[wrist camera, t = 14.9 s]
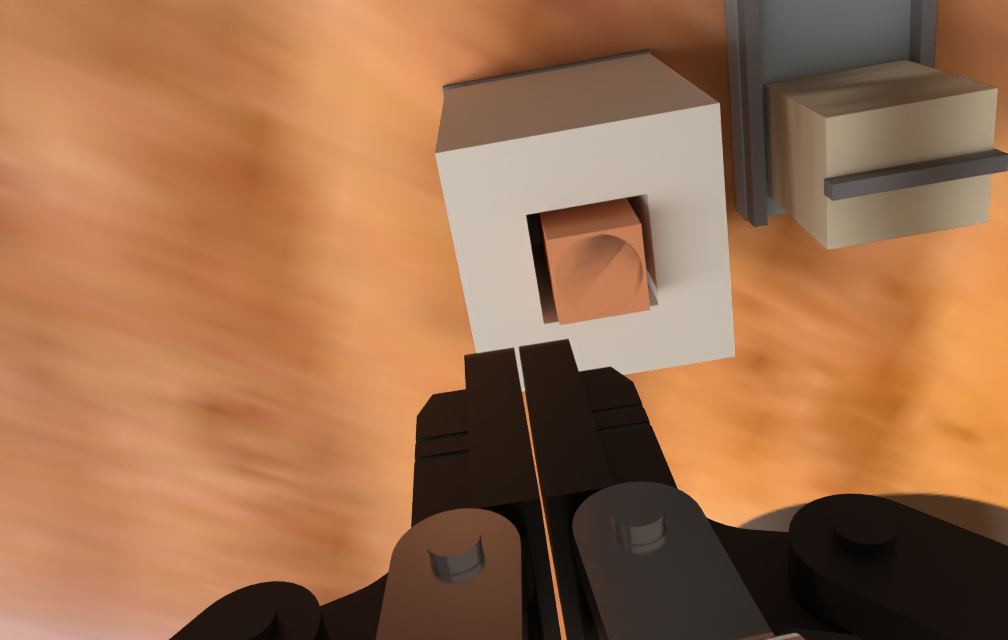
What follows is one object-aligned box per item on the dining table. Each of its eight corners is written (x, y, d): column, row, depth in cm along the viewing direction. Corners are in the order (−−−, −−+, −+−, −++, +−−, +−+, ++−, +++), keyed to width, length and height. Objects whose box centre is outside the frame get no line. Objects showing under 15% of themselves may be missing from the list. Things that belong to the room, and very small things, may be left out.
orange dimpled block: (540, 235, 36) (559, 325, 28) (528, 166, 35) (546, 240, 27) (609, 223, 36) (650, 309, 28) (601, 154, 35) (641, 223, 27)
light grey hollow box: (480, 276, 41) (483, 400, 31) (443, 86, 38) (431, 150, 27) (667, 244, 41) (737, 358, 30) (649, 48, 37) (722, 99, 26)
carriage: (766, 196, 38) (832, 257, 31) (761, 85, 36) (832, 123, 29) (904, 172, 38) (1002, 229, 31) (907, 59, 36) (1014, 91, 29)
